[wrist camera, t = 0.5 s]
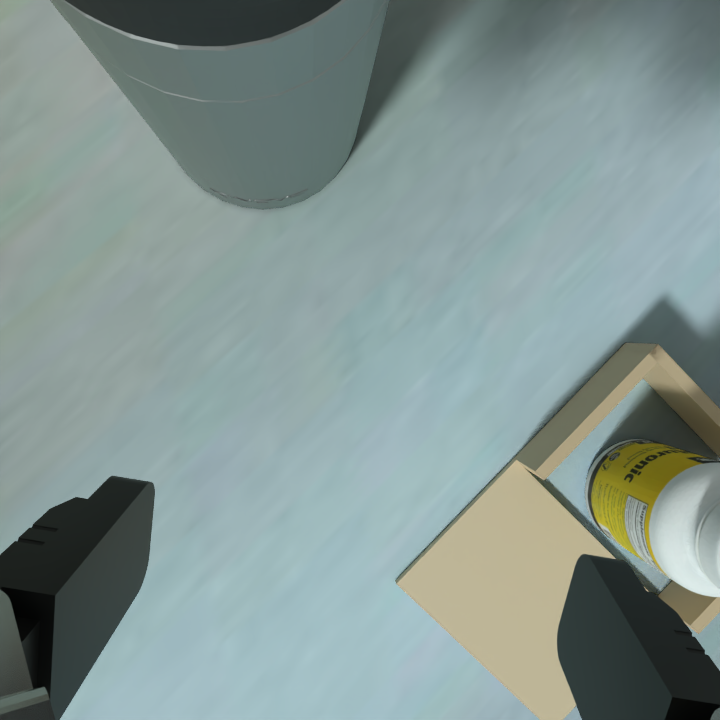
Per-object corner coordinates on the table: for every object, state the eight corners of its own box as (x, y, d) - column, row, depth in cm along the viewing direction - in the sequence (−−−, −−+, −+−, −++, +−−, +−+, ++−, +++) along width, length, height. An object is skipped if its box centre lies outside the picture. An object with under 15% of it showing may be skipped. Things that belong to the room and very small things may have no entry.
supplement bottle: (676, 429, 32) (837, 471, 23) (687, 533, 33) (849, 618, 23) (574, 444, 32) (693, 493, 22) (586, 549, 32) (707, 643, 22)
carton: (549, 725, 32) (573, 766, 29) (395, 580, 31) (404, 606, 28) (770, 493, 33) (816, 509, 30) (625, 342, 32) (658, 344, 29)
